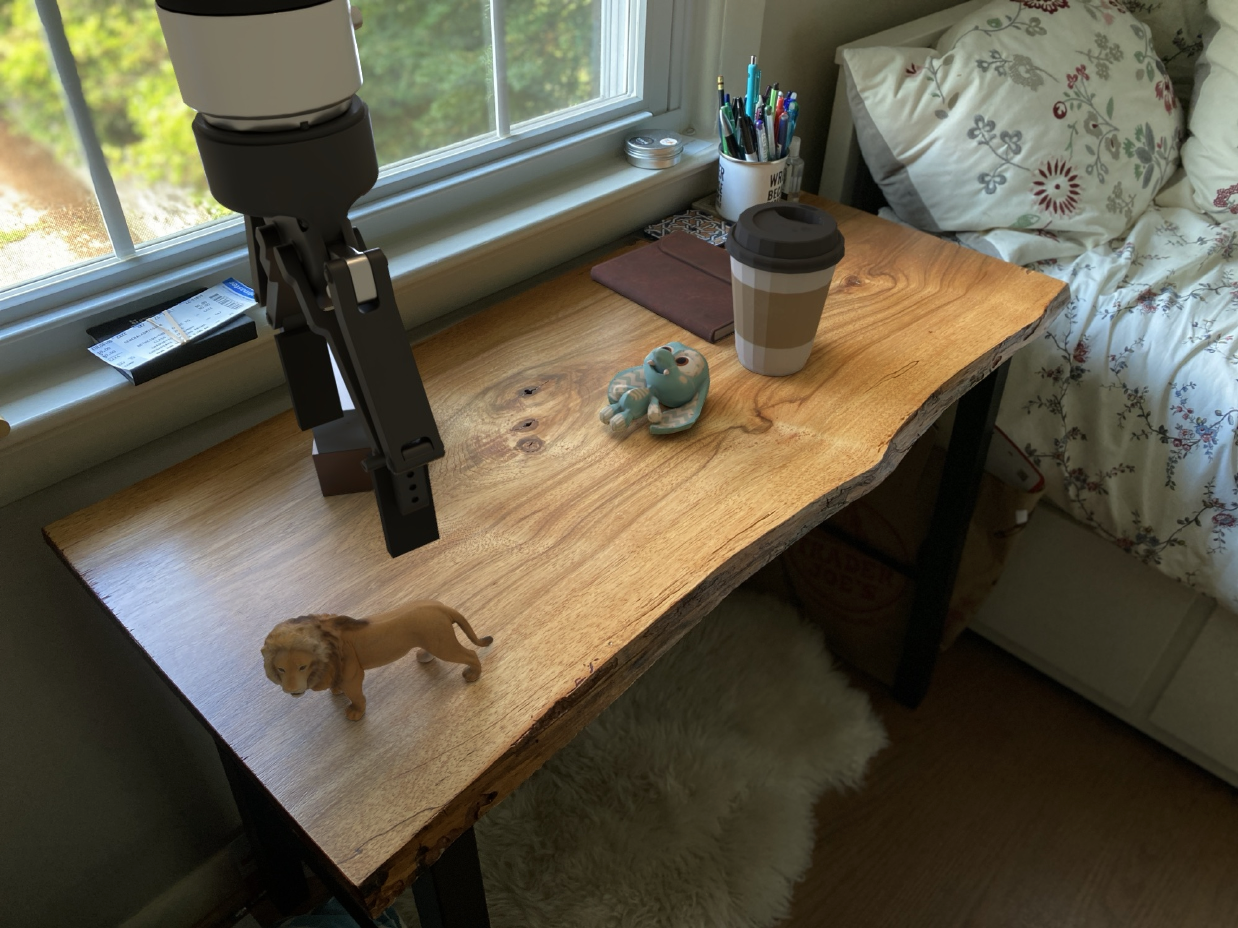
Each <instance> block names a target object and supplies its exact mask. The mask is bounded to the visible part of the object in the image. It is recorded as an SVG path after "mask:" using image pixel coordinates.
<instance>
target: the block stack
mask: <svg viewBox="0 0 1238 928" xmlns="http://www.w3.org/2000/svg"><path fill="white" fill-rule="evenodd" d="M327 345H328V343H327ZM328 349H329V353H330V358H331V362H332V366H333V371H334V375H335V379H336V384H337V388H338V392H339V397H340V401H341V405H342V410H343V414H344V417H343V418H340V419H337V420H334V421H331V422H329V423H326V424H323V425H320V426H317V427H314V428H311V432H312V435H313V440H312V441H313V442H312V450H311V456H312V461H313V464H314V468H315V472H316V476H317V479H318V483H319V486H320V489H321V494H322V497H328V496H329V497H330V496H338V495H344V494H353V493H360V492H368V491H374V488H373V484H372V479H371V475H370V472H365V471H364V469H363V467H362V465H361V463H360V462H361V461H363V460H364V459H366V458H367V456H366V453H369V452H371V451H372V449H371V446H370V444H369V441H368V439H367V436H366V434H365V432H364V429H363V427H362V424H361V422H360V420H359V417H358V415H357V412H356V410H355V408H354V405H353V403H352V400H351V398H350V396H349V393H348V391H347V388H346V386H345V383H344V381H343V379H342V376H341V374H340V371H339V369H338V367H337V364H336V362H335V359H334V357H333V355H332V352H331V350H330V347H329V345H328ZM429 464H430V463H427V465H428V471H429V472H430V465H429Z"/></svg>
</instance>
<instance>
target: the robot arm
mask: <svg viewBox="0 0 1238 928" xmlns="http://www.w3.org/2000/svg"><path fill="white" fill-rule="evenodd" d="M350 2H351V1H350V0H154V7H155V11H156V15H157V17H158V21H159V25H160V28H161V30H162V34H163V38H164V41H165V45H166V48H167V51H168V55H169V58H170V61H171V65H172V68H173V72H174V75H175V79H176V82H177V85H178V89H179V93H180V96H181V99H182V102H183V103H184V104H185V105H186V106H187V107H188V108H190V109H191V110H193V111H195V112H196V114H195V116H194V119H193V120H192V122H191V129H192V134H193V137H194V141H195V145H196V148H197V150H198V151H197V152H198V154H199V158H200V162H201V165H202V168H203V171H204V175H205V179H206V183H207V186H208V189H209V192H210V194H211V196H212V198H213V199H214V200H215V201H216V202H217V203H218V205H221V206H222V207H223V208H225V209H227V210H229V211H231V212H234V213H237V214H240V215H243V221H244V229H245V237H246V244H247V252H248V259H249V267H250V274H251V281H252V283H251V284H252V290H253V294H252V297H253V299H254V301H255V303H256V304H257V305H258V306H259V308H265V320H266V322H267V325H268V326H270V328H272V331H275V330H279V333H275V334H273V338H274V342H275V345H276V349H277V352H278V353H277V354H278V357H279V360H280V364H281V367H282V371H283V374H284V378H285V382H286V386H287V389H288V393H289V398H290V400H291V404H292V408H293V412H294V415H295V418H296V423H297V426H298V428H299V429H300V431H301V432H305V431H309V430H312V428H314V427H317V426H320V425H323V424H326V423H329V422H331V421H334V420H337V419H340V418H343V417H344V414H343V410H342V405H341V401H340V397H339V392H338V388H337V384H336V379H335V375H334V371H333V366H332V362H331V358H330V353H329V349H328V345H329V347H330V350H331V352H332V355H333V357H334V359H335V362H336V364H337V367H338V369H339V371H340V374H341V376H342V379H343V381H344V383H345V386H346V388H347V391H348V393H349V396H350V398H351V400H352V403H353V405H354V408H355V410H356V412H357V415H358V417H359V420H360V422H361V424H362V427H363V429H364V432H365V434H366V436H367V439H368V441H369V444H370V446H371V449H372V451H371V452H369V453H366V456H367V458H366V459H364V460H363V461H361V462H360V463H361V465H362V467H363V469H364V471H365V472H370V475H371V479H372V484H373V488H374V490H373V493H374V497H375V502H376V506H377V510H378V516H379V520H380V525H381V528H382V533H383V538H384V543H385V548H386V552H387V553H388V554H389V555H390V557H391V558H392V560H394V559H396V558H399V557H402V556H403V555H406V554H408V553H410V552H412V551H416V550H417V549H419V548H422V547H424V546H426V545H427V546H428V545H429V544H431V543H433V542H435V541H439V540H440V539H441V535H440V530H439V524H438V519H437V512H436V507H435V506H436V505H435V501H434V495H433V489H432V483H431V477H430V470H429V471H428V465H427V463H429V464H430V463H432V462H435V461H436V460H439V459H442V458H444V457H445V456H446V450H445V444H444V441H443V440H442V437H441V435H440V432H439V429H438V428H439V427H438V425H437V422H436V420H435V417H434V412H433V411H432V408H431V405H430V401H429V398H428V395H427V392H426V388H425V386H424V383H423V380H422V377H421V374H420V371H419V367H418V365H417V362H416V359H415V356H414V353H413V350H412V347H411V344H410V341H409V337H408V334H407V331H406V329H405V326H404V323H403V319H402V317H401V313H400V311H399V307H398V304H397V300H396V295H395V292H394V287H393V283H392V279H391V272H390V269H389V261H388V258H387V256H386V255H385V253H384V251H383V250H382V249H381V248H380V247H376V248H372V249H368V247H367V246H366V245H367V244H366V243H365V241H364V238H363V236H362V234H361V231H360V229H359V228H358V227H357V225H352V222H351V219H350V218H349V217H348V216H349V211H350V209H351V207H353V205H354V204H355V203H356V202H357V200H359V199H361V197H364V196H366V195H367V194H368V193H369V192H370V191H372V190H373V188H374V186H375V185H376V183H377V181H378V179H379V175H380V169H379V168H380V167H379V161H378V156H377V149H376V144H375V138H374V137H375V136H374V131H373V125H372V120H371V115H370V114H371V113H370V109H369V105H368V104H367V102H365V101H364V100H363V99H362V98H361V97H360V96H359V95H358V94H356V93H357V92H358V91H359V90H360V89H361V88H362V86H363V82H364V79H363V73H362V68H361V62H360V56H359V50H358V45H357V44H358V43H357V41H356V35H355V31H357V30H359V29H361V28H362V26H363V23H364V21H363V12H361V10H360V9H359V8H358V7H357V6H356V5H351V3H350ZM331 307H333V308H332V309H329V310H326V309H328V308H331ZM327 343H328V345H327Z"/></svg>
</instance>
